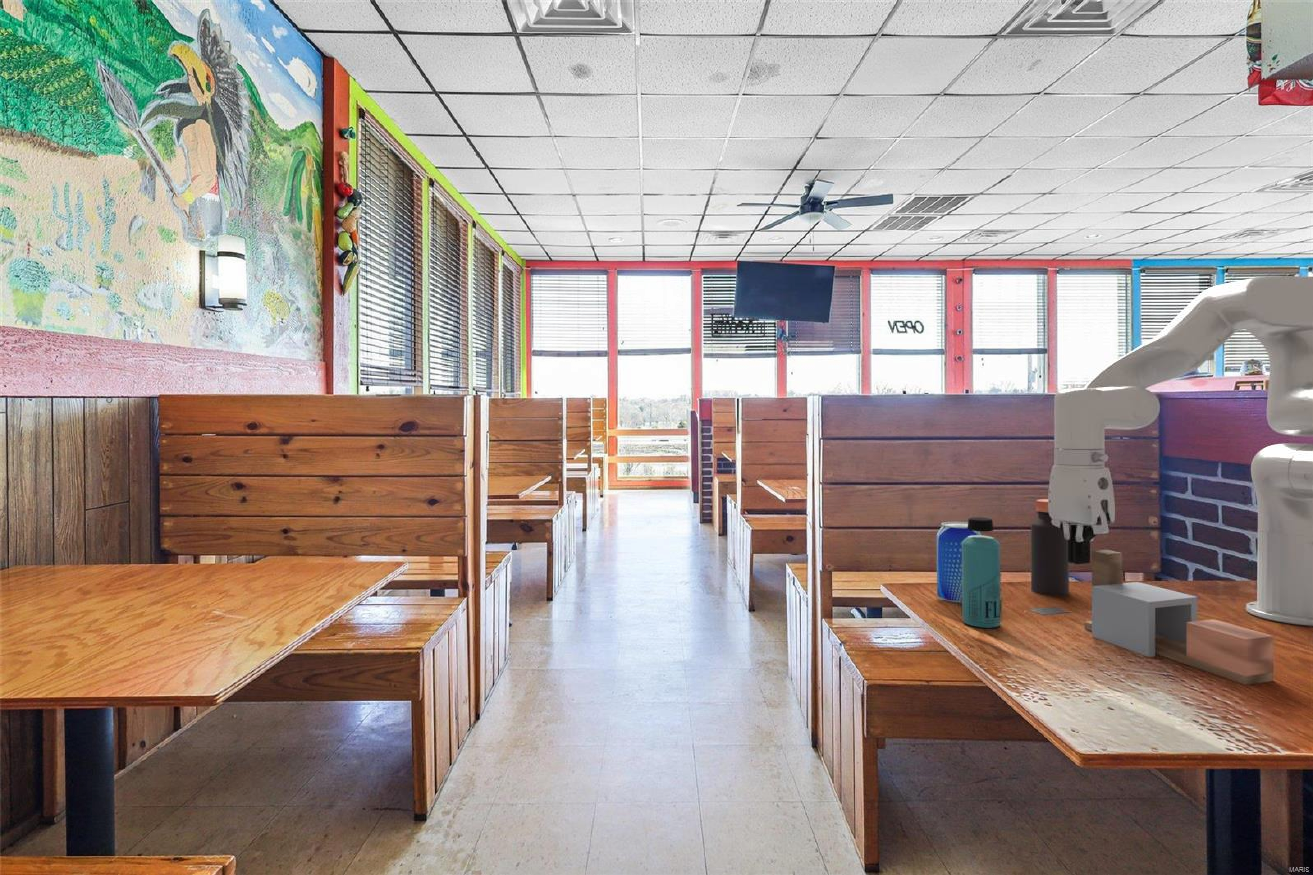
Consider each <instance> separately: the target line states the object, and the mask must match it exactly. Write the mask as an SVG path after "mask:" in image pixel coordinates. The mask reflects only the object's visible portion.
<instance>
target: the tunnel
mask: <svg viewBox="0 0 1313 875" xmlns="http://www.w3.org/2000/svg"><path fill="white" fill-rule="evenodd" d="M1198 601H1199V600H1198V596H1195V595H1190V594H1187V593H1183V592H1179V591H1176V590H1171V589H1167V588H1163V587H1160V586H1155V585H1151V584H1147V583H1144V582H1140V581H1132V582H1122V583H1121V584H1111V585H1100V586H1092V585H1091V621H1092V631H1091V638H1095V639H1098V640H1100V641H1103V642H1107V643H1109V644H1112V645H1114V646H1118V647H1120V648H1123V649H1125V650H1129V651H1130V652H1134V653H1136V654H1139V655H1142V656H1145V657H1148V658H1150V657H1155V656H1156V653H1155V634H1157V635H1160V636H1163V637H1166V638H1169V639H1172V640H1175V641H1178V642H1181V643H1184V644H1187V622H1193V621H1198V609H1199V608H1198V606H1199V605H1198Z"/></svg>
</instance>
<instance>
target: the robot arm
mask: <svg viewBox="0 0 1313 875" xmlns="http://www.w3.org/2000/svg"><path fill="white" fill-rule="evenodd" d="M1242 330H1246V331H1247V332H1248V333H1250V334H1251V335H1252V336H1253V337H1254V338H1255V339H1256V340H1258V341H1259V343H1260V344H1261V345H1262V347H1263V348H1264V349H1265V351H1266V354H1267V355H1268V360H1269V377H1268V390H1267V400H1266V401H1267V403H1266V420H1267V421H1266V422H1267V424H1268V426H1269V427H1270V428H1271V430H1273V431H1275V432H1276V433H1277V434H1278V433H1279V434H1282V435H1285V436H1287V435H1288V436H1295V437H1313V276H1300V275H1299V276H1292V275H1290V276H1289V275H1287V276H1285V275H1284V276H1283V275H1282V276H1280V275H1275V276H1274V275H1272V276H1269V275H1268V276H1256V277H1251V278H1248V279H1247V278H1245V279H1242V280H1238V281H1232V282H1228V283H1222V284H1218V285H1215V286H1212V287H1209V288H1206V290H1204V291H1202V292H1201V293H1199V295H1197V296H1196V297H1195V298H1194V299H1193V300H1192V301H1191V302H1190V303H1189V304H1188V305H1187V306H1186V307H1184V309H1183V310H1181V311H1180V312H1179V314H1178V315H1176V316H1175V318H1173V320H1171V322H1169V323H1168V324H1167V325H1166V326H1165V327H1164V328H1163V329H1162V330H1161V331H1160V332H1159V333H1157V334H1156V336H1154V337H1153V338H1152V339H1151V340H1148V341H1147V342H1145V343H1143V344H1142V345H1140V346H1138V347H1136V348H1134V350H1132V351H1130V352H1128V353H1126V354H1125V355H1123V356H1122V357H1120V358H1118V359H1116V360H1115V361H1113V362H1112V363H1110V364H1109V365H1107V366H1106V367H1105V368H1103V369H1102V370H1100V371H1099V373H1097V374H1096V375H1095V376H1094V377H1093V378H1092V379H1091V380H1090V381H1088V382H1087V384H1086V385H1085V386H1084V387H1083V388H1079V387H1078V388H1065V389H1061V390H1058V391H1057V392H1056V393H1055V394H1054V399H1053V400H1054V402H1053V404H1054V405H1053V408H1054V409H1053V411H1054V414H1053V416H1054V417H1053V418H1054V419H1053V420H1054V422H1053V423H1054V426H1053V427H1054V428H1053V429H1054V432H1053V433H1054V434H1053V436H1054V437H1053V438H1054V439H1053V440H1054V443H1053V446H1054V447H1053V448H1054V449H1053V450H1054V451H1053V452H1054V453H1053V455H1054V456H1053V457H1054V458H1053V459H1054V460H1053V462H1054V465H1052V467H1051V472H1050V477H1049V483H1048V493H1047V495H1048V497H1047V499H1048V511H1049V515H1050V517H1051V518H1052V524H1053V525H1055V526H1057V527H1059V528H1061V530H1062V531H1063V532H1064V537H1065V539H1067V540H1068V562H1069V564H1074V565H1085V564H1090V562H1091V542H1093V541H1094V539H1095V537H1096V536H1097V535H1099V534H1100V535H1101V534H1109V533H1110V532H1109V531H1110V530H1109V525H1111V524H1114V523H1115V522H1116V521H1115V520H1116V505H1115V504H1116V503H1115V491H1114V486H1113V480H1112V475H1111V472H1110V468H1109V467H1105V462H1106V463H1107V462H1108V460H1109V455H1108V454H1107V453H1105V442H1106V441H1105V438H1106V437H1105V435H1106V434H1105V433H1106V432H1105V430H1106V429H1107V430H1126V431H1127V430H1128V431H1129V430H1131V431H1132V430H1138V429H1141V428H1145V427H1147V426H1149V425H1151V424H1152V423H1154V421H1155V420H1156V419H1157V417H1158V416H1159V414H1160V411H1161V410H1160V409H1161V405H1160V400H1159V398H1158V397H1157V395H1155V394H1154V392H1153V391H1150V390H1149V389H1147V388H1149V387H1152V386H1155V385H1158V384H1161V383H1164V382H1168V381H1171V380H1174V379H1177V378H1179V377H1182V376H1186V375H1188V374H1190V373H1192V372H1194V371H1196V370H1197V369H1199V368H1200V367H1202V365H1204V363H1205V362H1206V361H1207V360H1208V359H1210V357H1211V356H1213V354H1214V353H1215V352H1216V351H1218V349H1219V348H1221V347H1222V346H1223V344H1225V342H1227V341H1228V339H1230V338H1231V337H1232V336H1233V335H1234V334H1235V333H1237V332H1240V331H1242ZM1250 474H1251V475H1250V476H1251V480H1252V484H1253V487H1254V492H1255V495H1256V504H1257V506H1256V507H1257V574H1256V575H1257V578H1256V579H1257V580H1256V581H1257V582H1256V583H1257V585H1256V586H1257V587H1256V594H1257V596H1256V598H1257V599H1256V600H1255V601H1250V602H1248V603H1246V604H1245V611H1246V612H1248V613H1249V614H1251V615H1252V616H1256V617H1258V618H1262V619H1266V620H1270V621H1273V622H1274V621H1275V622H1279V623H1284V624H1290V625H1291V624H1292V625H1300V626H1310V627H1313V443H1298V442H1297V443H1295V442H1292V443H1291V442H1289V443H1288V442H1286V443H1277V444H1271V445H1268V446H1266V447H1264V448H1262V449H1260V450H1259V451H1258V452H1257V453H1256V454H1255V455H1254V456H1253V459H1252V461H1251V464H1250Z"/></svg>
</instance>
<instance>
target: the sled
mask: <svg viewBox="0 0 1313 875" xmlns="http://www.w3.org/2000/svg"><path fill="white" fill-rule="evenodd" d="M1121 583H1123V552H1119V551H1114V550H1109V549H1099V550H1091V587H1092V586H1100V585H1111V584H1121ZM1084 629H1085V630H1086V631H1091V632H1092V620H1088V621H1084ZM1274 641H1275V636H1274V635H1272V634H1268V633H1265V632H1262V631H1257V630H1254V629H1249V628H1246V627H1243V626H1239V625H1235V624H1232V623H1228V622H1225V621H1221V620H1217V619H1214V618H1213V619H1202V620H1197V621H1193V622H1187V644H1184V643H1181V642H1178V641H1175V640H1172V639H1169V638H1166V637H1163V636H1160V635H1157V634H1155V655H1158V656H1162V657H1165V658H1168V659H1169V660H1173V661H1175V662H1178V663H1181V664H1185V665H1187V666H1190V667H1193V668H1194V669H1195V668H1196V669H1199V670H1202V671H1205V672H1207V673H1209V674H1213V675H1216V676H1219V677H1221V678H1225V679H1228V680H1230V681H1233V682H1235V683H1237V684H1241V685H1244V686H1248V685H1254V684H1261V683H1262V684H1263V683H1269V682H1274V676H1275V675H1274V674H1275V673H1274V669H1275V668H1274V667H1275V666H1274V663H1275V662H1274V661H1275V660H1274V657H1275V656H1274V653H1275V652H1274V651H1275V649H1274V648H1275V642H1274Z"/></svg>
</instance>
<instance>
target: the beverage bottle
mask: <svg viewBox="0 0 1313 875" xmlns="http://www.w3.org/2000/svg"><path fill="white" fill-rule="evenodd" d="M967 522H968V527H967V528H968V530H972V531H979V532H985V533H986V532H993V531H994V521H993V519H992V518H989V517H984V516H983V517H982V516H981V517H980V516H978V517H977V516H974V517H969V518H968V520H967ZM981 535H982V534H981ZM981 535H972V536H968V537H967V538H965V539H964V540H963V541H962V543H961V545H962V594H961V595H962V603H961V613H960V614H961V615H960V616H961V618H962V622H964V623H965V624H966V625H969V626H973V627H977V628H987V629H988V628H997V627H999V626H1000V625H1001V623H1002V617H1003V614H1002V612H1003V611H1002V610H1003V608H1002V604H1003V603H1002V602H1003V598H1002V597H1001V596H1002V589H1001V588H1002V586H1001V584H1002V582H1001V580H1002V576H1003V575H1002V571H1001V570H1002V567H1001V566H1002V563H1001V562H1002V561H1001V544H1000V542H999V540H997V539H996V538H995V537H992V536H988V535H982V536H981Z"/></svg>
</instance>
